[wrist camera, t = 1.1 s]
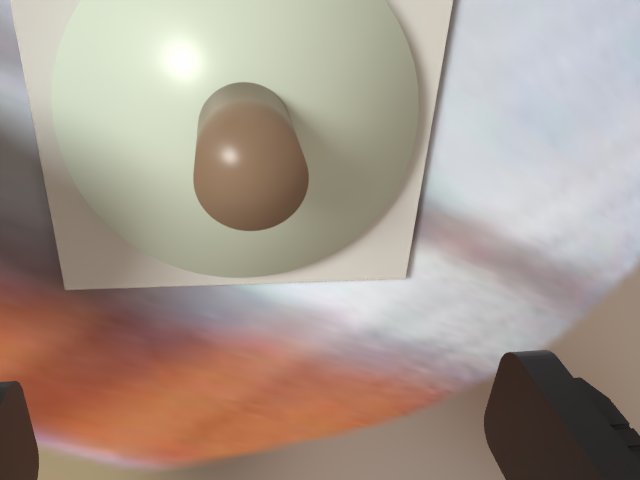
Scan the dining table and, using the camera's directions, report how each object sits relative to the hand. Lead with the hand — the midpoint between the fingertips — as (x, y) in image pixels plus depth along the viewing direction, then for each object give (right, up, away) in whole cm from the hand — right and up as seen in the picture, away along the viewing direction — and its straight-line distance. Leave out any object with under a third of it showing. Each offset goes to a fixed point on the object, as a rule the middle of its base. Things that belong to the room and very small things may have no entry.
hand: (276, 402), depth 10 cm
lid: (-2, +8, +13) cm, 15 cm away
